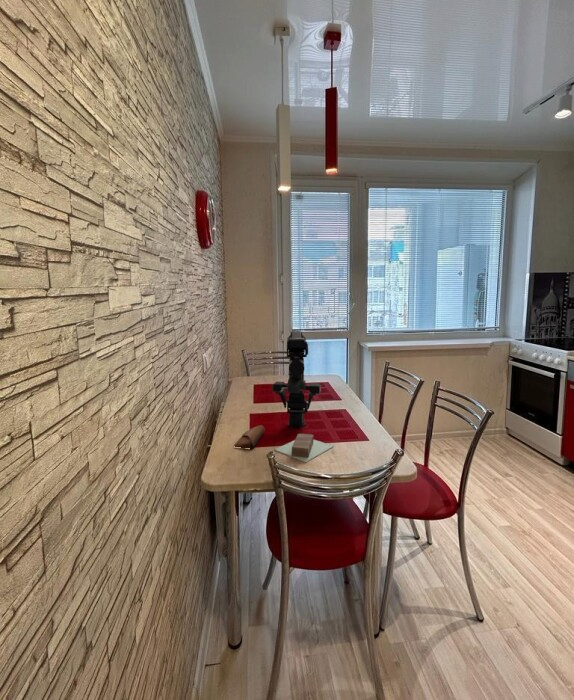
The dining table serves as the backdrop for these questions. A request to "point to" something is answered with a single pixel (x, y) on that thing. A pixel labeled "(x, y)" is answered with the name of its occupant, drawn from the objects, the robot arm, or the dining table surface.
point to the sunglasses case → (250, 437)
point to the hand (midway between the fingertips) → (296, 408)
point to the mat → (315, 451)
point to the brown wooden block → (302, 445)
